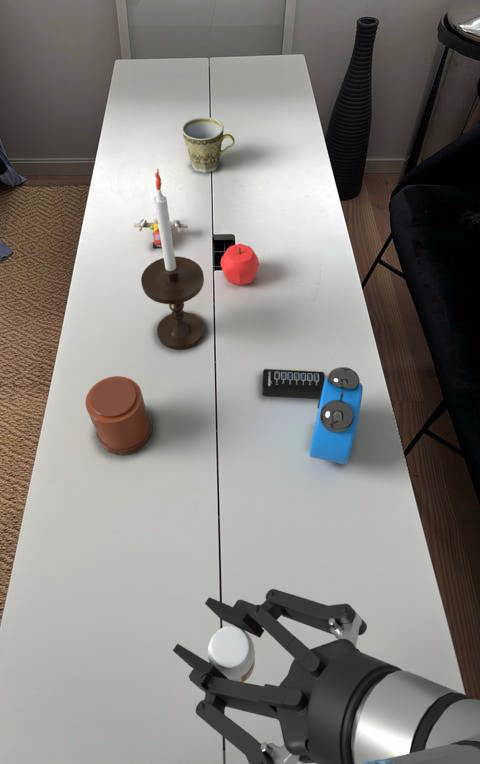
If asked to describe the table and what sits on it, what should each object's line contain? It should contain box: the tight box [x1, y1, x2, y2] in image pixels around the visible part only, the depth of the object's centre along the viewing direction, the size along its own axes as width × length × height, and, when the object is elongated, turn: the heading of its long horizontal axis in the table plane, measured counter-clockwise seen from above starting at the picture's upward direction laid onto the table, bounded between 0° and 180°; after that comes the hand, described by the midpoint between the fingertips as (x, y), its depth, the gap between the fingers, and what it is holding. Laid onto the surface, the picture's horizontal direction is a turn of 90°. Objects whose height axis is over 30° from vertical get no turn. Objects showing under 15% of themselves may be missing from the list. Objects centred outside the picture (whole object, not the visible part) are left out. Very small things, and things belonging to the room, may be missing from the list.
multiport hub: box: [261, 368, 326, 400], centre depth 98 cm, size 4×11×2 cm, turn 86°
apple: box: [220, 243, 260, 286], centre depth 112 cm, size 8×8×8 cm
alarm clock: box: [309, 366, 364, 465], centre depth 86 cm, size 13×6×15 cm, turn 165°
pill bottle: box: [207, 625, 256, 683], centre depth 52 cm, size 4×4×8 cm
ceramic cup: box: [181, 116, 236, 174], centre depth 135 cm, size 13×10×10 cm
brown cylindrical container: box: [85, 375, 154, 456], centre depth 90 cm, size 9×9×11 cm
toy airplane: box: [133, 214, 188, 249], centre depth 121 cm, size 9×9×6 cm
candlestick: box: [140, 168, 205, 351], centre depth 93 cm, size 11×11×35 cm
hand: (200, 631), depth 53 cm, fingers closed on pill bottle, 4 cm apart
